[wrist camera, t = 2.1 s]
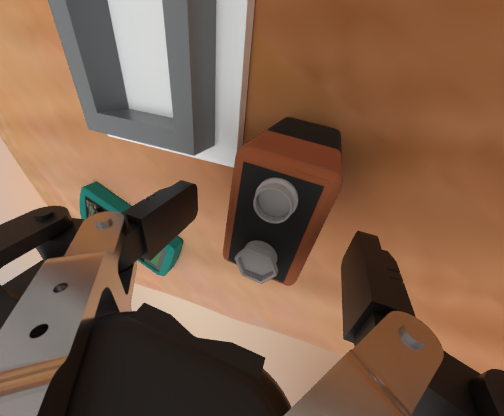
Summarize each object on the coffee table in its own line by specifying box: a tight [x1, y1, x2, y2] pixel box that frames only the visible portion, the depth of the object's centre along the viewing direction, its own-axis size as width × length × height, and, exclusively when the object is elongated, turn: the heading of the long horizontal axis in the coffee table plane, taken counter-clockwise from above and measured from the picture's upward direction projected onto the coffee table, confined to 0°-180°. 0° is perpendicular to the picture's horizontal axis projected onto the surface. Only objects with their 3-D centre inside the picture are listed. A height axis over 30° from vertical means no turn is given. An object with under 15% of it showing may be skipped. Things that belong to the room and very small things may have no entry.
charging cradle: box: [48, 0, 255, 168], centre depth 14 cm, size 16×14×4 cm
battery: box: [223, 117, 342, 286], centre depth 13 cm, size 4×7×10 cm, turn 170°
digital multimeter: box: [80, 182, 183, 276], centre depth 28 cm, size 7×15×3 cm, turn 62°
